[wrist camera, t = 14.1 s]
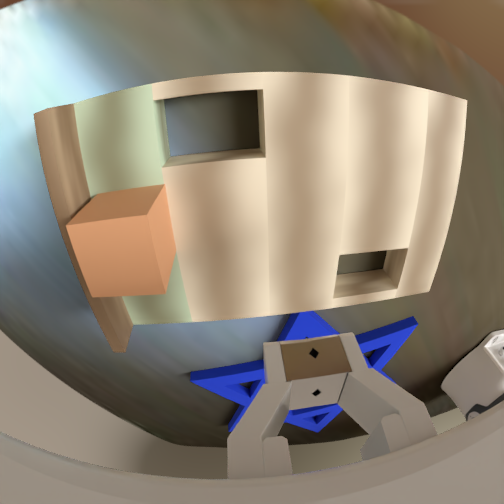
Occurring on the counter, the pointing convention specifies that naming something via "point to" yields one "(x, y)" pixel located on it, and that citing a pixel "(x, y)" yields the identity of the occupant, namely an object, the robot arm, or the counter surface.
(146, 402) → the counter surface
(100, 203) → the block
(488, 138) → the counter surface
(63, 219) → the board
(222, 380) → the symbol
